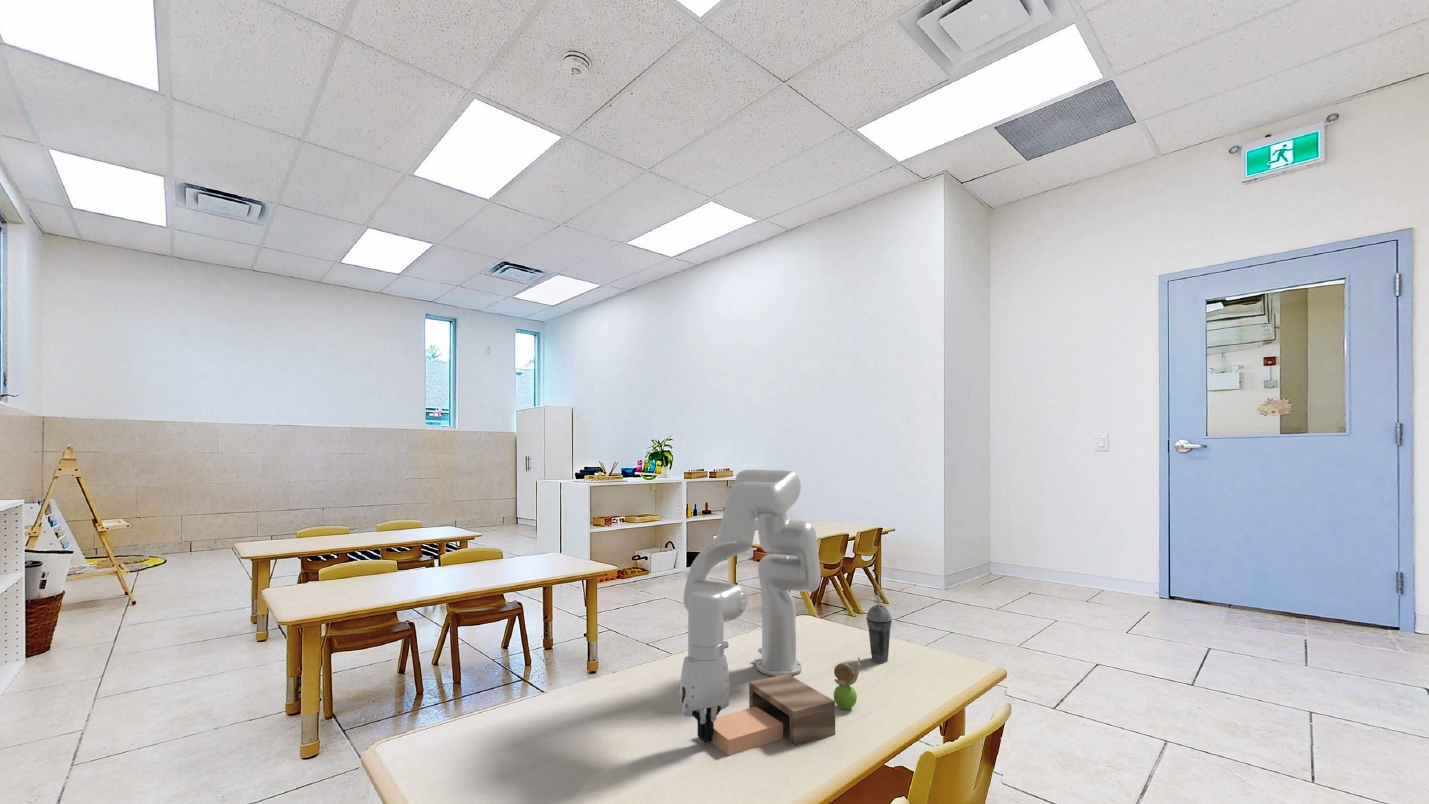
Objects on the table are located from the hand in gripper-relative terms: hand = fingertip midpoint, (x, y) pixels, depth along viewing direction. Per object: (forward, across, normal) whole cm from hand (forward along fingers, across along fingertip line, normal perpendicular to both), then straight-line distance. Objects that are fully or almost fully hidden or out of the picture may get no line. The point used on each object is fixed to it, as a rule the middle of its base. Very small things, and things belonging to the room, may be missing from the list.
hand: (705, 740), depth 129 cm
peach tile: (+2, -9, 0) cm, 9 cm away
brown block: (+1, -21, 0) cm, 21 cm away
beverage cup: (+1, -68, -21) cm, 71 cm away
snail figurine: (+1, -38, 0) cm, 38 cm away
